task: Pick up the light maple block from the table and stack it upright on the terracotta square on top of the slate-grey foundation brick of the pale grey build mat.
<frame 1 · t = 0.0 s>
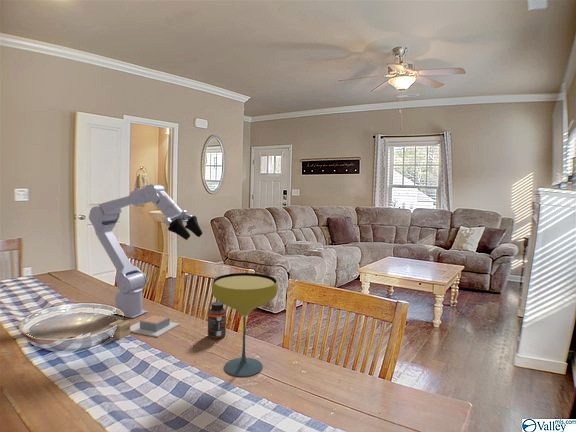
hand: (194, 236, 135), 32 cm above the table, tool tilted 50°, fingers open, 7 cm apart
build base: (152, 327, 134), on the table
cocktail glass: (243, 368, 108), on the table
supplement bottle: (216, 336, 129), on the table
maple block: (119, 336, 126), on the table
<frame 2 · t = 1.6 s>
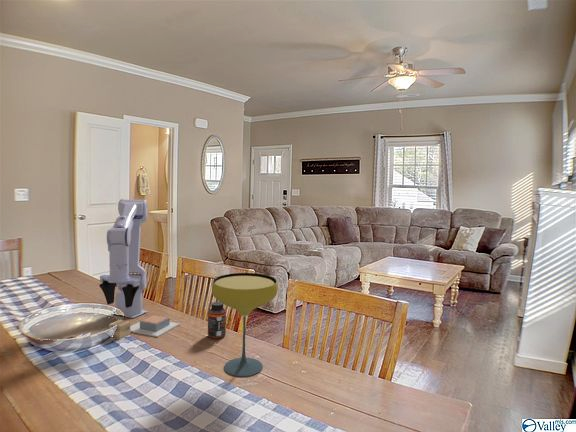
hand: (119, 305, 125), 10 cm above the table, tool pointing down, fingers open, 7 cm apart
nothing on the table moved.
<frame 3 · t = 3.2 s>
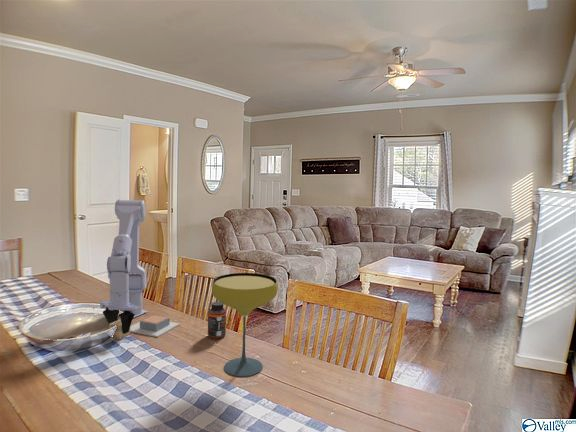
hand: (119, 331, 126), 2 cm above the table, tool pointing down, fingers closed on maple block, 4 cm apart
maple block: (119, 335, 126), on the table, touching gripper
everything else where it was.
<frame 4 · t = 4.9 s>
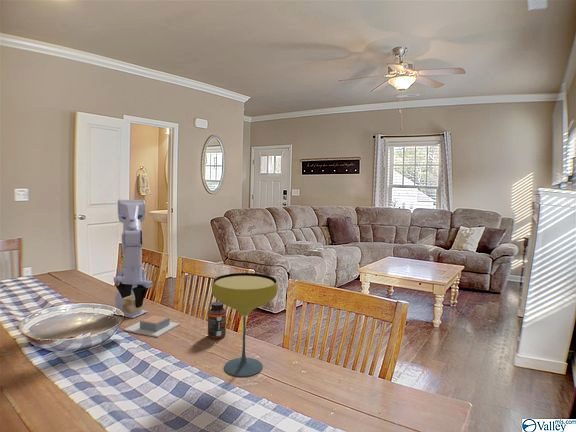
hand: (132, 305, 128), 9 cm above the table, tool pointing down, fingers closed on maple block, 4 cm apart
maple block: (132, 310, 128), point 8 cm above the table, touching gripper
everything else where it was.
when the fingers open (6 cm above the table, at t = 6.7 s): maple block stays where it is, resting on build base.
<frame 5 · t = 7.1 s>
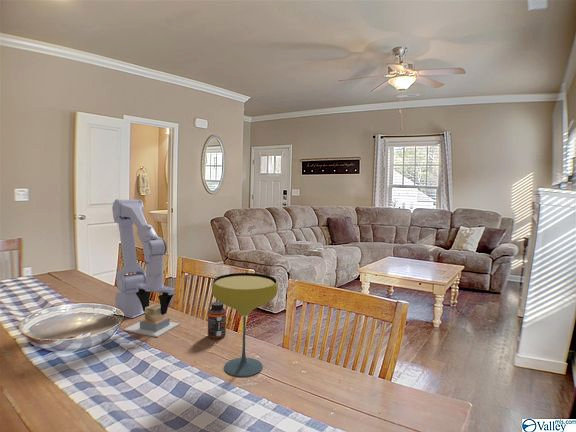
hand: (154, 312, 133), 6 cm above the table, tool pointing down, fingers open, 7 cm apart
maple block: (154, 319, 133), point 3 cm above the table, touching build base
everything else where it was.
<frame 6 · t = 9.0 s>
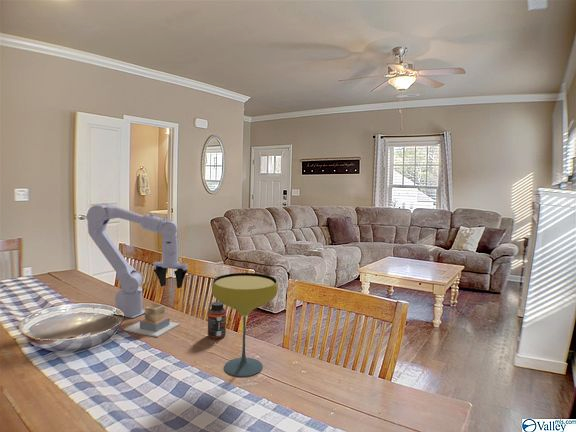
hand: (171, 286, 148), 10 cm above the table, tool pointing down, fingers open, 7 cm apart
nothing on the table moved.
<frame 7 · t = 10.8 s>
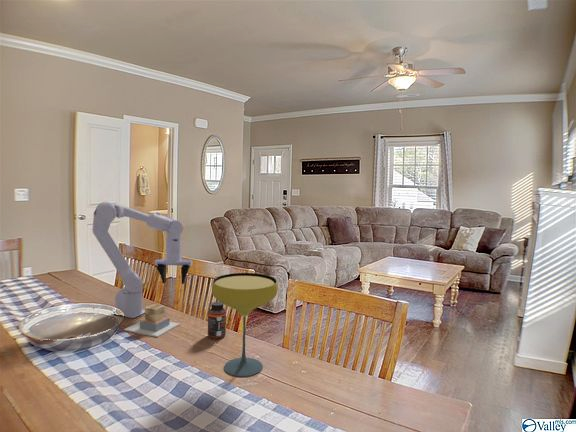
hand: (173, 283, 154), 10 cm above the table, tool pointing down, fingers open, 7 cm apart
nothing on the table moved.
at the end: maple block 0.1 cm from the target spot, point 3.2 cm above the table; maple block tilted 0°; the gripper is holding nothing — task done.
